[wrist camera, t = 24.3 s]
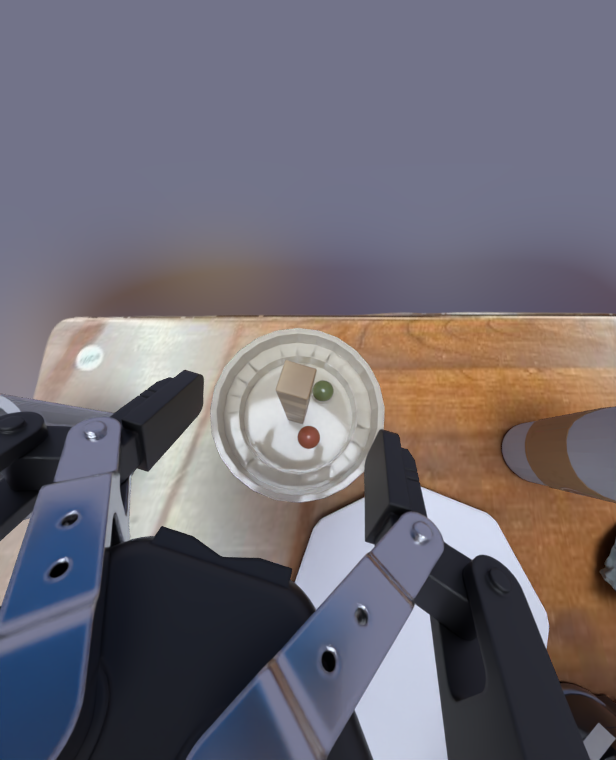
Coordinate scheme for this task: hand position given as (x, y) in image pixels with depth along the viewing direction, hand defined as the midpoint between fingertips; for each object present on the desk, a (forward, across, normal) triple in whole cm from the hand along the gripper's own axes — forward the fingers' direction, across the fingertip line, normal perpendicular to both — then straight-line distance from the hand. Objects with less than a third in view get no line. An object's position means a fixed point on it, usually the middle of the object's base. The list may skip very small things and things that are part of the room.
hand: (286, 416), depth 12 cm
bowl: (+14, 0, +12) cm, 19 cm away
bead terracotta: (+12, -2, +12) cm, 17 cm away
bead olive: (+15, -2, +8) cm, 18 cm away
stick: (+14, 0, +11) cm, 18 cm away
